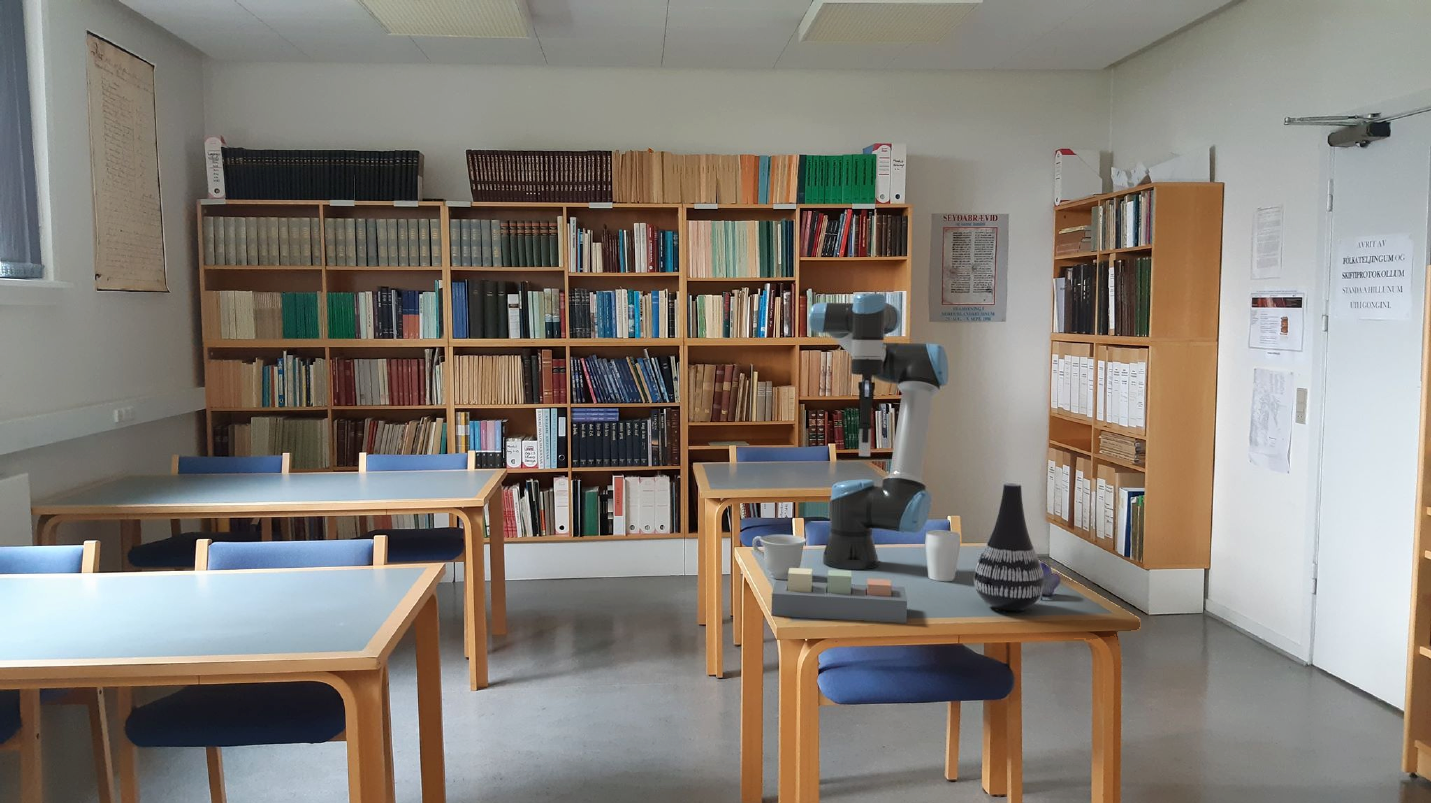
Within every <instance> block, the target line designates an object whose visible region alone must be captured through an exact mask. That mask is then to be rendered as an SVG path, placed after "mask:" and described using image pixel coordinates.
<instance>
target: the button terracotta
mask: <svg viewBox="0 0 1431 803" xmlns="http://www.w3.org/2000/svg"><path fill="white" fill-rule="evenodd" d="M866 585H867V595H871V596H890V597H891V587H892V580H891V579H883V578H867V584H866Z"/></svg>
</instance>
